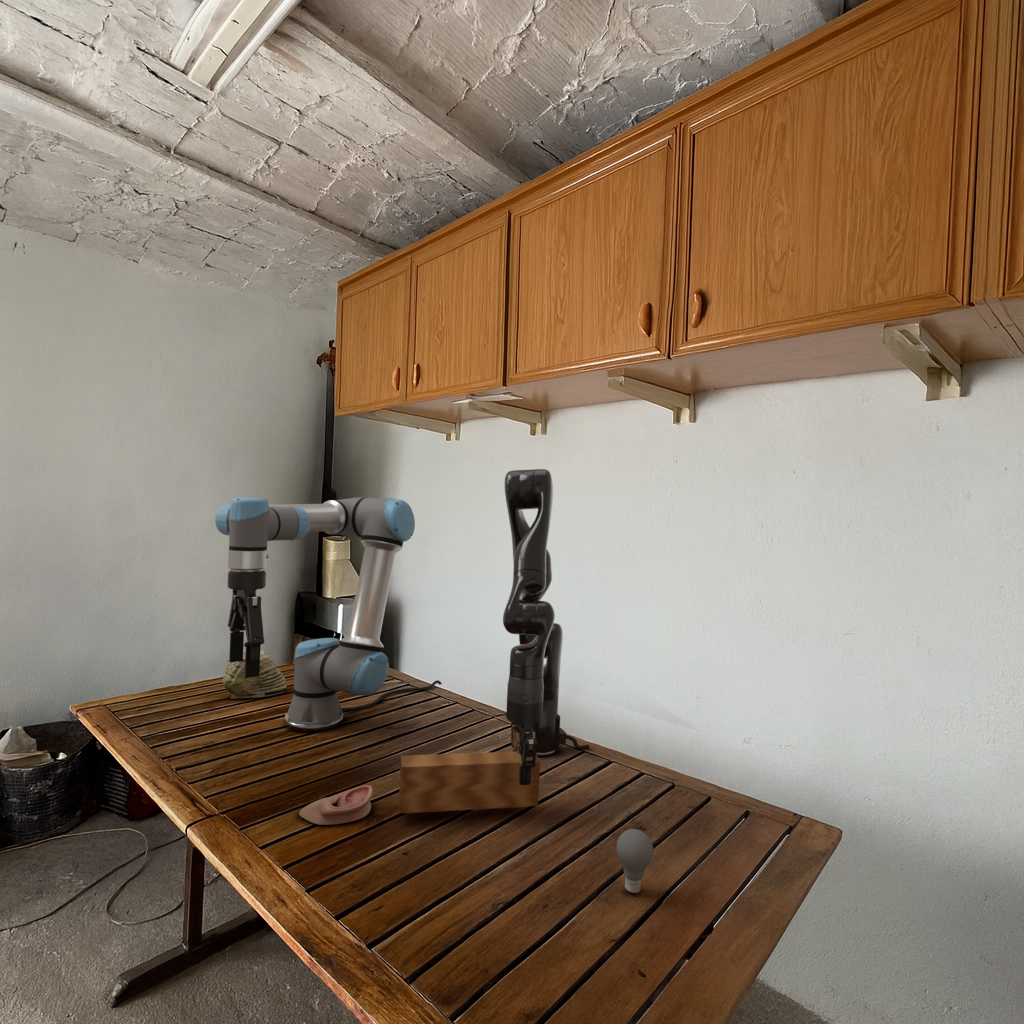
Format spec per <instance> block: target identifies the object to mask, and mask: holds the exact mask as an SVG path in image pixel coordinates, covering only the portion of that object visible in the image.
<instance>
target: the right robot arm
mask: <svg viewBox="0 0 1024 1024" xmlns="http://www.w3.org/2000/svg"><path fill="white" fill-rule="evenodd" d="M504 496H505V503H506V508H507V515H508V521H509V527H510V533H511V545H512V560H513V562H512V563H513V574H512V584H511V590H510V594H509V597H508V600H507V602H506V605H505V607H504V610H503V615H502V624H503V627H504V629H505V630H506V632H507V633H509V634H512V635H518V641H519V642H518V643H519V644H517V645H515V646H513V647H512V648H511V649H510V653H509V670H508V671H509V674H508V681H507V691H506V713H505V718H506V719H507V721H508V722H510V723H511V724H510V726H511V727H510V728H511V729H510V731H511V732H510V746H511V748H512V749H511V750H512V751H511V752H515V751H517V754H518V755H519V756H520V779H519V782H520V784H521V785H529V784H530V783H531V767H535V761H536V755H537V757H548V756H552V755H554V754H559V752H560V746H561V745H567V740H568V741H570V742H572V743H573V746H574V748H575V749H577V750H580V751H583V750H589V749H590V744H583V745H579V744H578V741H577V739H576V738H575V737H573V736H571V735H568V734H567V732H566V731H565V730H564V729H563V728H562V727H561V715H560V714H559V695H560V693H559V692H560V675H561V662H562V661H561V660H562V653H563V651H562V650H563V641H564V633H563V628H562V625H561V624H560V623H558V622H555V619H556V615H555V613H556V612H555V609H554V607H553V606H552V604H551V603H550V602H548V601H546V600H545V601H544V600H542V598H543V597H544V596H545V595H546V593H547V591H548V590H549V589H550V586H551V584H552V581H553V571H552V569H553V568H552V567H553V566H552V557H551V554H550V552H549V550H548V541H549V534H550V527H551V520H552V519H551V518H552V513H553V511H552V510H553V501H554V483H553V477H552V474H551V472H550V471H549V470H548V469H545V468H534V469H515V470H509V471H507V473H505V476H504ZM523 510H537V512H536V516H535V518H534V520H533V522H532V524H531V526H530V525H529V523H528V522H527V519H526V517H525V514H524V512H523ZM545 659H546V662H545ZM544 662H545V663H544ZM527 757H529V760H526V758H527Z"/></svg>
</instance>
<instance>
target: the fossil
mask: <svg viewBox="0 0 1024 1024" xmlns="http://www.w3.org/2000/svg"><path fill="white" fill-rule="evenodd" d="M245 654H246V647H244V646H243V661H239V662H229V659H228V660H227V663H226V666H225V668H224V671H223V675H222V676H223V677H222V685H223V687H224V688H225V690H226V691H228V693H229V698H230V699H250V698H264V697H271V696H275V695H281V694H284V693H285V691H286V689H287V687H288V686H287V680H286V678H285V676H284V674H283V673H282V672H281V669H279V668H278V667H277V665H276V663H275V662H274V660H273V659H272V658H271V657H270V656H269V655H268V654H267V653H266V652H265V650H264V649H263V648H261V647H260V673H259V676H257V677H249V678H245Z"/></svg>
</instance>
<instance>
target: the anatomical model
mask: <svg viewBox="0 0 1024 1024" xmlns="http://www.w3.org/2000/svg"><path fill="white" fill-rule="evenodd" d="M372 795H373V787H372V786H371V785H369V784H367V785H366V784H365V785H361V786H356V787H354V788H351V789H350V788H349V789H347V790H345V791H341V792H340V793H337V794H334V795H332V796H329V797H328V796H327V797H323V798H320V799H317V800H315V801H313V802H311V803H309V804H307V805H306V806H304V807H303V808H301V809H300V810H299V812H298V815H299V817H300V818H302V819H304V820H306V821H307V822H310V823H311V824H315V825H319V826H328V825H339V824H346V823H351V822H354V821H357V820H361V819H363V818H365V817H366V816H367V815H368V814H369V813H370V812H371V809H372V803H371V798H372V797H373V796H372Z"/></svg>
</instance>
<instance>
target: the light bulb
mask: <svg viewBox="0 0 1024 1024" xmlns="http://www.w3.org/2000/svg"><path fill="white" fill-rule="evenodd" d="M615 849H616V854H617V857H618V859H619V861H620V863H621V865H622V867H623V873H624V874H623V875H624V876H625V878H624V888H625V890H627V891H628V892H630V893H634V894H635V893H639V892H640V891H641V889H642V887H641V886H642V879H643V877H644V875H645V871H646V868H647V867H648V866H649V864H650V863H651V861H652V859H653V855H654V847H653V843H652V841H651V838H649V836H648V835H647V834H646V833H645V832H643V831H642V830H641V829H636V828H629V829H627V830H625V831H623V832H622V833H621V834H620V835H619V837H618V839H617V841H616V847H615Z"/></svg>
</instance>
